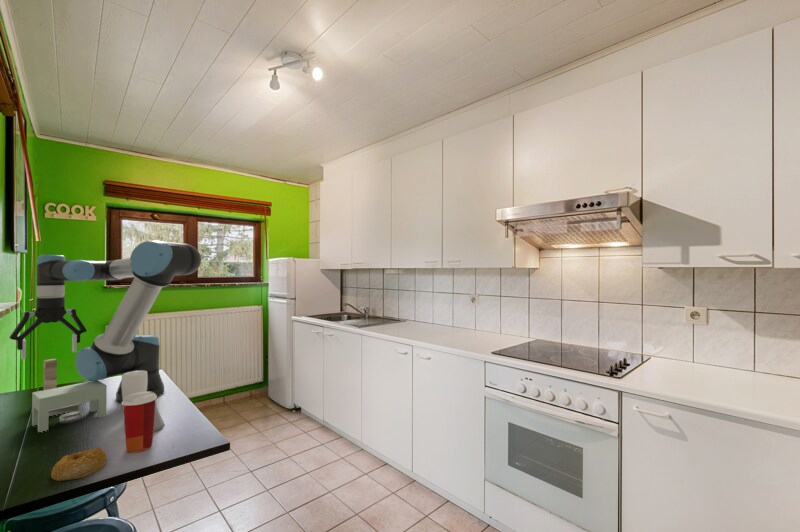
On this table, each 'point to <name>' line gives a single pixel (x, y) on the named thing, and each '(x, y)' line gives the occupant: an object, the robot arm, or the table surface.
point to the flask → (157, 419)
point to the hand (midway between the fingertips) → (49, 355)
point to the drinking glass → (134, 383)
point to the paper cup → (139, 420)
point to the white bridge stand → (67, 400)
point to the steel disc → (70, 417)
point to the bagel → (79, 465)
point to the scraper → (54, 385)
